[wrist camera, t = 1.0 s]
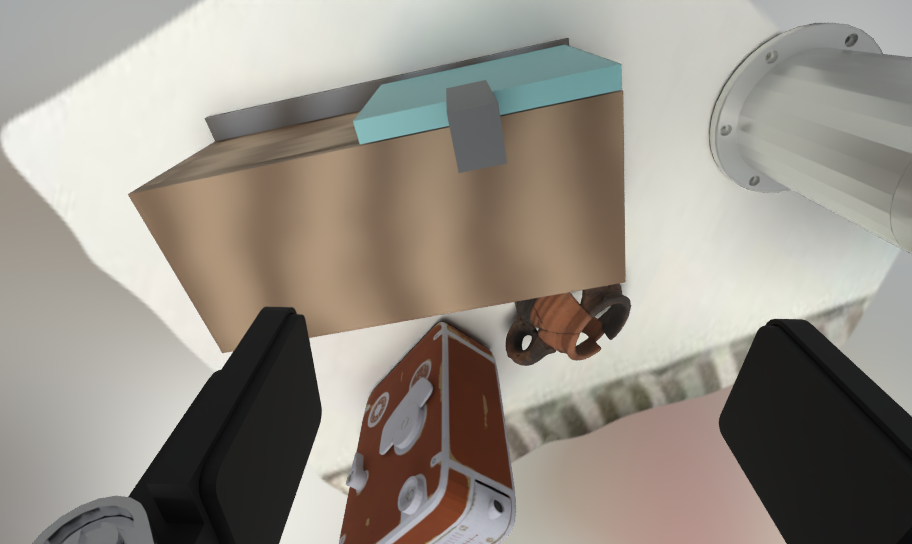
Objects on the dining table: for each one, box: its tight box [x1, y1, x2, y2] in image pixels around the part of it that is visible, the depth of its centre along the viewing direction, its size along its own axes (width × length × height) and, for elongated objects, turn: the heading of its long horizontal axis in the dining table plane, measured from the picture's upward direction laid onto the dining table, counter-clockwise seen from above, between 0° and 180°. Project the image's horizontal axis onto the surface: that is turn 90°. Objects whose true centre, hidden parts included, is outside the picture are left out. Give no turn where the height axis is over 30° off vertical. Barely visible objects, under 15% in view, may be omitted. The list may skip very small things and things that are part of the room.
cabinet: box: [128, 38, 625, 353], centre depth 33 cm, size 28×14×12 cm, turn 101°
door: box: [353, 45, 622, 173], centre depth 26 cm, size 14×2×18 cm, turn 101°
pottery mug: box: [506, 284, 631, 366], centre depth 43 cm, size 12×9×8 cm
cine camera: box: [339, 322, 516, 544], centre depth 42 cm, size 9×19×20 cm, turn 142°
